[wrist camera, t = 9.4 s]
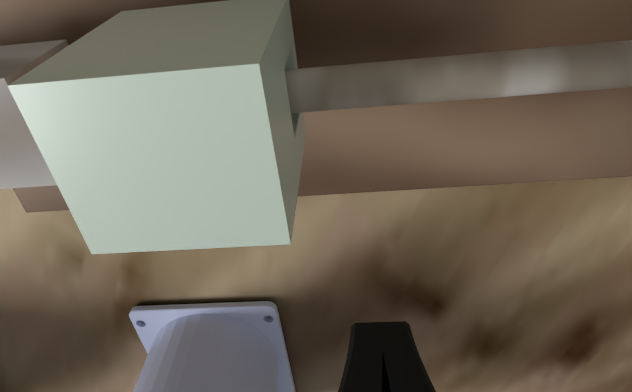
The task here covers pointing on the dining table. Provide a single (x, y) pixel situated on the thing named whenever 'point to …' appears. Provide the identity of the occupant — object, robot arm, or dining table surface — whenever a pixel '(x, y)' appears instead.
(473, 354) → the dining table surface
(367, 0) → the board
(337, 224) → the dining table surface
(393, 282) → the dining table surface
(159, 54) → the pale green block
